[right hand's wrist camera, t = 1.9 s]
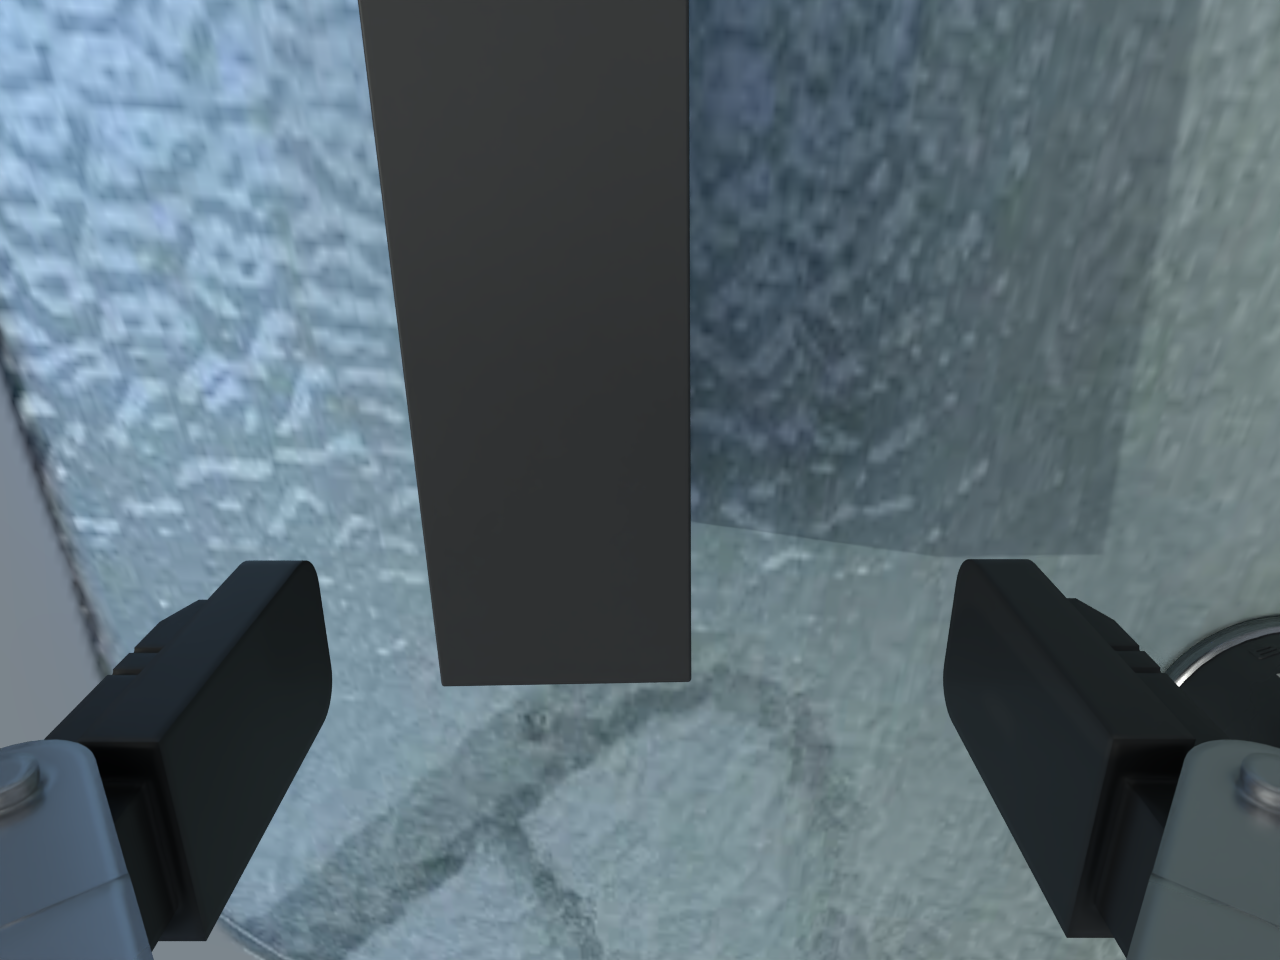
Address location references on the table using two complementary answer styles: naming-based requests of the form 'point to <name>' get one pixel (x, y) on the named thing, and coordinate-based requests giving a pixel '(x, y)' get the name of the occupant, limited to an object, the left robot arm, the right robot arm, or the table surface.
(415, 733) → the table surface
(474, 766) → the table surface
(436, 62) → the box
